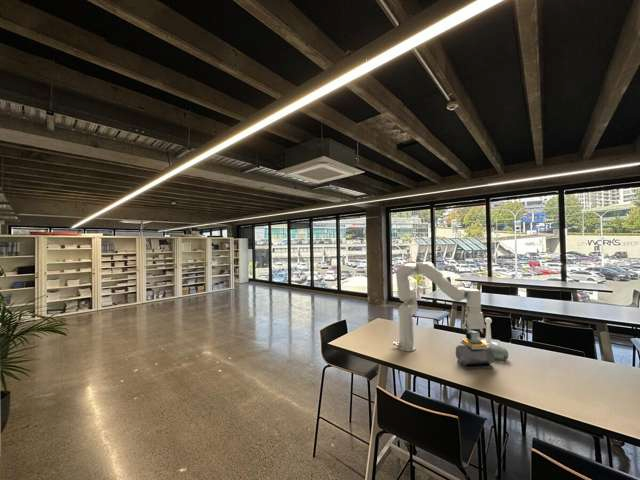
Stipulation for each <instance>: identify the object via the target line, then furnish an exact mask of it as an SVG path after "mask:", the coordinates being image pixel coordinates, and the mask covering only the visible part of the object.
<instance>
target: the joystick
mask: <svg viewBox="0 0 640 480" xmlns="http://www.w3.org/2000/svg"><path fill="white" fill-rule="evenodd" d="M492 322H493V320H492V318H491V317H484V323H486V324H485V325H487V327H486V328H485V339H482V342H484V343H486V344H487V345H496V346H499V344H498V342H494V341H492V329H491V324H492Z"/></svg>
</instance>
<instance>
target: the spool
mask: <svg viewBox="0 0 640 480" xmlns="http://www.w3.org/2000/svg"><path fill="white" fill-rule="evenodd" d="M488 346H489V347H490V348H491V349H492V351H493V353H494V360H497V361H507V360H508V359H509V352H508V350H507V349H506V348H505V347H503V346H499V345H498V346H496V345H488Z"/></svg>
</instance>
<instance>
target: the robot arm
mask: <svg viewBox="0 0 640 480" xmlns="http://www.w3.org/2000/svg"><path fill="white" fill-rule="evenodd" d="M395 274H396V275H395V276H396V278H395V279H396V285H397V297H398V298H399V301H401V302H404V303H401V304H400V305H399V307H398V308H397V313H398V320H399V321H398V322H399V323H398V326H399V331H398V332H399V333H398V335H399V339H398V341H396V342H395V341H394V342H392V345H393V346H396V347H397V348H398V349H399V350H400V351H404V352H413V351H416V350H417V347H416V345H414V341H415V340H414V318H413V315H415V314H416V313H417V312H418V307H419V306H418V299H417V298H418V297H417V293H416V290H415V289H414V288H413V287H412V286H411V285H410V279H409V277H410V276H411V277H412V276H416V275H423V276H424V277H425V278H427V279H428V280H429V281H431V282H432V283H434V284H435V285H436V286H437V287H438V288H439V290H440V291H441V292H442V293H443V294H445V295H446V296H447V297H449V298H450V299H452V300H454V301H456V302H461V301H462V300H466V307H465V308H464V310H465V315H464V322H463V324H462V325H460V327H461V328H462V329H463V331H464V332H465V339H469V340H470V339H471V336H470V331H472V330H478V331H477V332H479V333H480V337H481V338H482V339H483V333H484V331H486V327H487V325H486V324H485V317H484V314H483V312H482V299H481V297H482V296H481V295H482V294H481V293H482V292H481V291H480V290H479V289H476V288H468V287H467V288H466V287H461V286H458V287H457V286H455V285H454V284H452V283H451V282H450V281H449V280H448V279H447V276H446V275H445V273H444V272H441V271H440V270H439V269H437V268H436V266H435V264H434V263H432V262H431V261H424V262H413V263H406V264H403V265H401V266H400V267H398V268H397V271H396V273H395Z"/></svg>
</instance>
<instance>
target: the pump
mask: <svg viewBox="0 0 640 480" xmlns="http://www.w3.org/2000/svg"><path fill="white" fill-rule="evenodd" d="M470 336H471V339H470V340H469V339H468V341H469V342H470V343H471V344H480V341H482V340H483V337H482V338H481V337H480V333H479V332H478V331H477V330H470Z"/></svg>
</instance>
